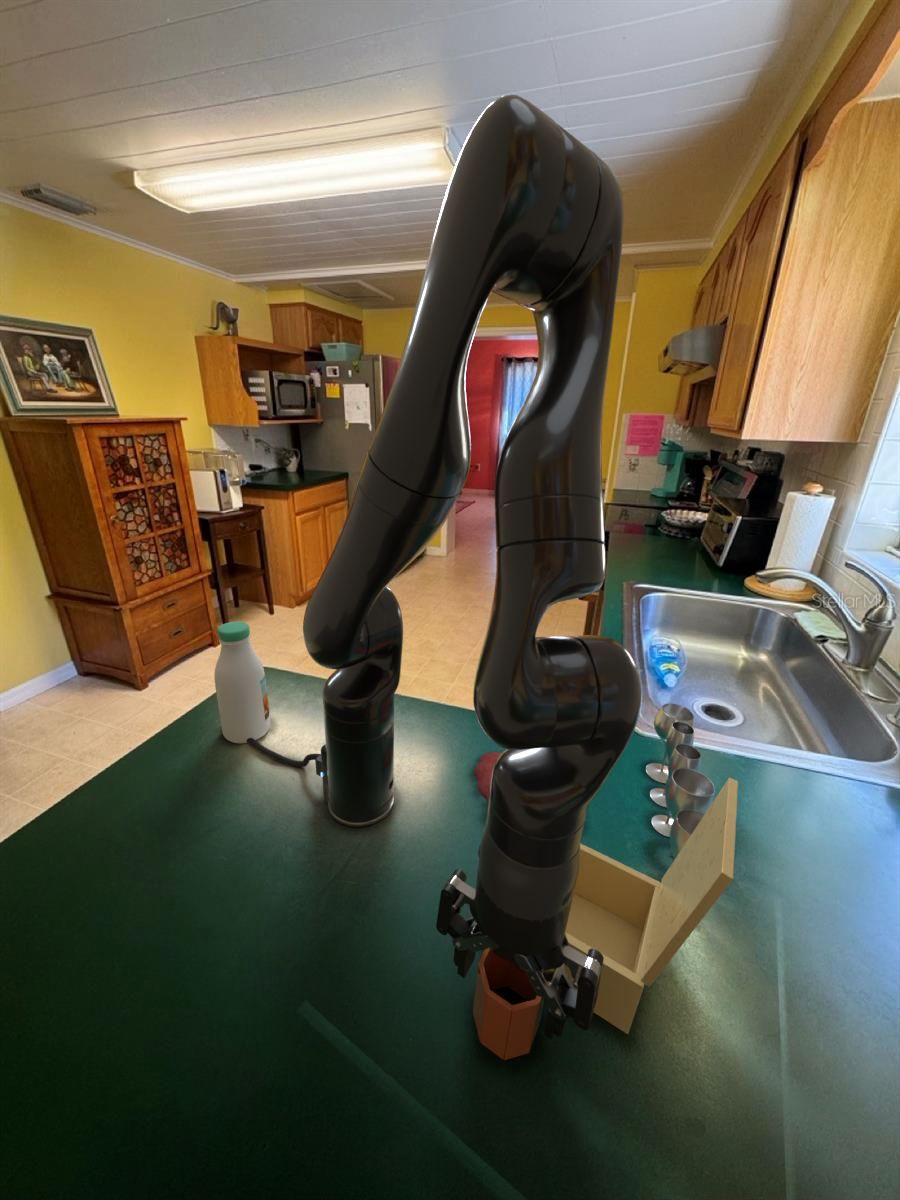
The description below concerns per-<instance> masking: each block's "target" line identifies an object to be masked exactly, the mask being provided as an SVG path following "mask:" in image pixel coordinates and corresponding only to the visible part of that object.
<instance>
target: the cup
mask: <svg viewBox="0 0 900 1200" xmlns="http://www.w3.org/2000/svg"><path fill="white" fill-rule="evenodd" d="M476 970H477V972H476V979H475V989H474V998H473V1007H472V1015H473V1019H474V1023H475V1028H476V1031H477V1032H476V1033H477V1037H478V1040H479V1042H480V1044H481V1045H483V1046H484V1047H485V1048H486V1049H488V1050H490V1051H491V1052H492V1053H493V1054H495V1055H496V1056H497V1057H499V1058H500V1059H501V1060H504V1061H506V1060H510V1059H514V1058H518V1057H520V1056H524V1055H528V1054H529V1053H530V1052H531V1050H532V1046H533V1044H534V1041H535V1038H536V1035H537V1032H538V1030H539V1027H540V1022H541V1018H542V1012H543V1009H544V1003H545V999H544V997H539V996H537V994H536V992H535V990H534V989H533V987H532V985H531V983H530V981H529V979H528V977H527V976H526V974H524V973H523V972H521V971H520V970H518V969H517V968H516V967H514V966H513V965H512V964H511V963H510V962H509V961H507V960H505V959H502V958H500V957H499V956H497V955H496V954H494V953H493V952H492V950H491V949H490V948H488V949H484V950H483V952H482V954H481V956H480V958H479V960H478V963H477V969H476ZM542 973H543V971H542ZM504 987H507V988H509V989H510V990H512V991H513V992H515V993H516V994H517V995H519V996H520V997H521V998H523V999H524V1000H526V1001H523V1002H520V1003H516V1004H511V1003H510V1002H509V1001H507V1000H506V999H504V998H503V997H501V996H500V995H498V994H497V993H495V992H494V991H493V990H497V989H501V988H504Z"/></svg>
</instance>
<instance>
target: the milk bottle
mask: <svg viewBox="0 0 900 1200" xmlns="http://www.w3.org/2000/svg"><path fill="white" fill-rule="evenodd" d="M250 633H251V629H250V625H249V623H247V622H245V621H229V622H226V623H223V624H221V625H220V626H219V627H217V636H218V642H219V644H221V647H220V652H219V655H218V658H217V660H216V664H215V668H214V686H215V687H214V688H215V694H216V701H217V707H218V713H219V720H220V726H221V730H222V731H221V732H222V735H223V737H224V738H225V739H226V740H227V741H228V742H231V743H234V744H247V743H248V742H247V739H248V738H253V739H254V740H256V741H257V740H259V739H261V738H263V737H264V736H265V735H266V734H267V733H268V732H269V730H270V728H271V715H270V704H269V697H268V689H267V681H266V674H265V669H264V665H263V662H262V660H261V657H259V655H258V653H256V651H255V650H254V648H253V646H252V644H251V641H250V639H251V634H250Z"/></svg>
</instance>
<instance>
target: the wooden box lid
mask: <svg viewBox="0 0 900 1200" xmlns="http://www.w3.org/2000/svg"><path fill="white" fill-rule="evenodd" d="M738 793H739V781H737V780H736V779H733V778H732V777H728V779H727V780H726V782H725V783H724V785H723V786H722V787H721V789H720V791H719V793H718V794H717V795H716V797H714V801H713V803H712V804H711V806H710V807H709V809H708V810H707V812H706V813H705V815H704V816H703V818H702V819H701V821H700V822H699V824H698V825H697V827H696V828H695V830H694V831H693V833H692V834H691V836H690V837H689V839H688V840H687V842H686V843H685V845H684V847H683V848H682V850H681V851H680V853H679V854H678V856H677V857H675V859H674V860H673V861H672V864H670V866H669V868H668V869H667V870H666V872H665V874H664V875H663V877H662V878H661V886H660V891H659V896H658V900H657V905H656V910H655V915H654V919H653V924H652V929H651V934H650V939H649V943H648V948H647V953H646V958H645V962H644V967H643V972H642V977H641V981H642V982H643V983H644V985H645V986H647V987H648V988H649V987H651V986H652V984H653V983H654V982H655V981H656V979H658V977H659V975H660V974H662V972H663V970H664V969H666V967H667V965H668V964H669V963H670V961H671V960H672V959H673V958H674V956H675V955H676V954H677V953H678V951H679V949H681V947H682V946H683V945H684V944H685V942H686V941H687V940H688V938H689V937H690V936H691V935H692V933H693V932H694V931H695V929H696V928H697V927H698V925H699V924H700V923H701V921H703V919H704V918H705V916H706V915H707V914H708V913H709V912H710V910H711V908H712V907H713V906H714V905H715V903H716V902H717V901H718V899H720V897H721V896H722V895H723V893H724V892H725V890H727V888H728V887H729V886H730V885H731V883H732V882H733V881H734V870H735V853H736V832H737V813H738V795H739V794H738Z"/></svg>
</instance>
